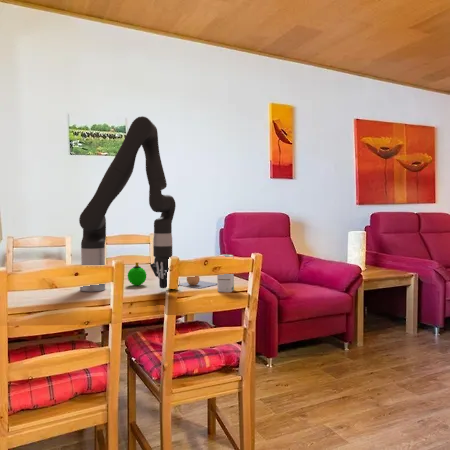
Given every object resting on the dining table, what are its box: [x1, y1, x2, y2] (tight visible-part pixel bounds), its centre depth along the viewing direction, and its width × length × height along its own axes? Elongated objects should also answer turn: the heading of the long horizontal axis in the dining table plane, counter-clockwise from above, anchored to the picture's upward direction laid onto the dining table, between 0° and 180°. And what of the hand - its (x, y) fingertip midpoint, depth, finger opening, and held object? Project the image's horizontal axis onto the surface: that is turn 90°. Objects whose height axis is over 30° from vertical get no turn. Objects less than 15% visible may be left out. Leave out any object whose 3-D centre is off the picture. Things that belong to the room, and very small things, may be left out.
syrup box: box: [217, 254, 235, 293], centre depth 169 cm, size 6×6×14 cm
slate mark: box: [179, 280, 218, 289], centre depth 184 cm, size 14×14×1 cm
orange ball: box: [186, 275, 201, 286], centre depth 182 cm, size 6×6×6 cm
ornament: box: [127, 262, 147, 287], centre depth 182 cm, size 8×8×10 cm
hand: (163, 287), depth 168 cm, fingers closed
